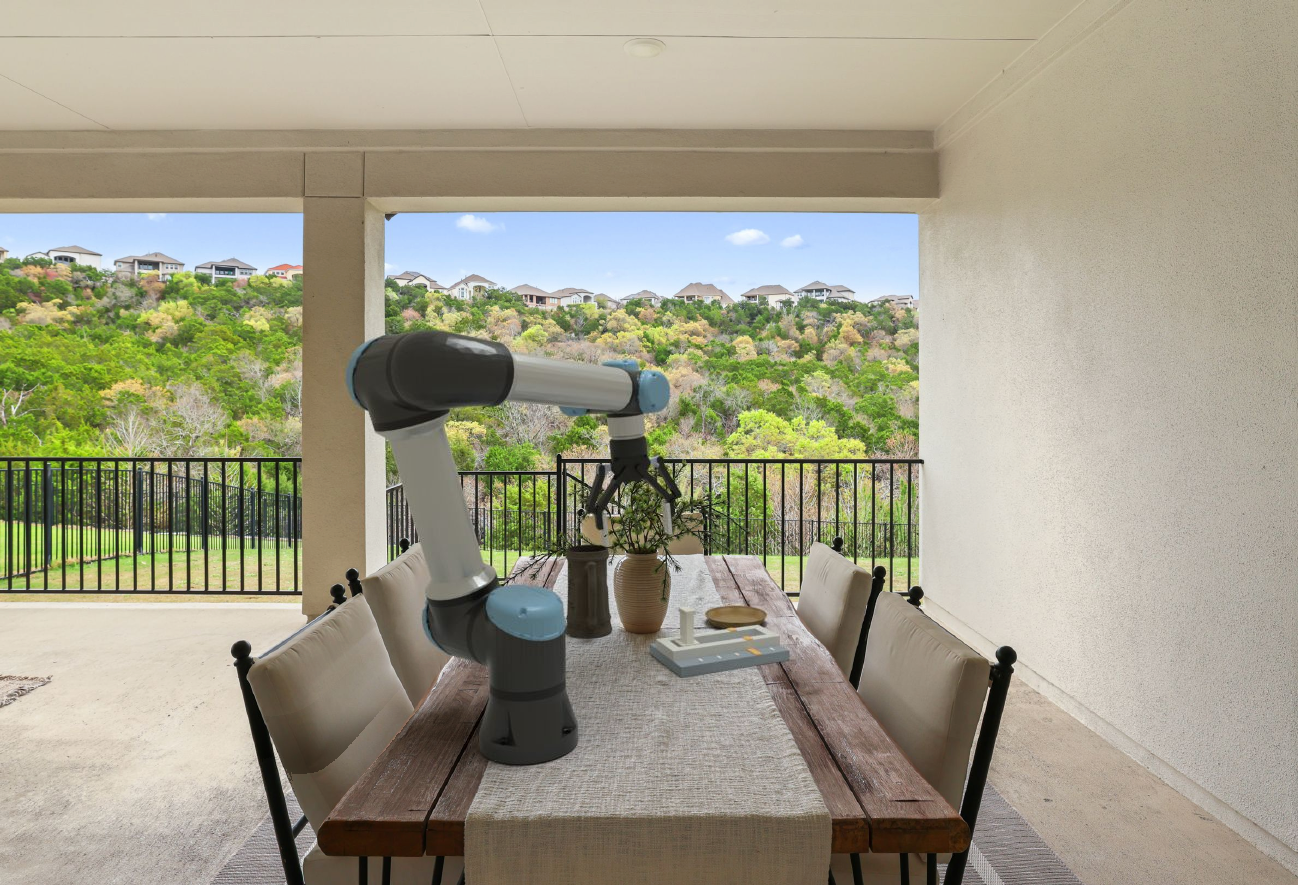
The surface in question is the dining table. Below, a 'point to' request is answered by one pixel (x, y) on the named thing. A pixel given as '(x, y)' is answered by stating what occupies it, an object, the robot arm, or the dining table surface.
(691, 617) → the fader tab
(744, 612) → the plant saucer
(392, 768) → the dining table surface
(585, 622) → the beer stein
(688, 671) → the console
